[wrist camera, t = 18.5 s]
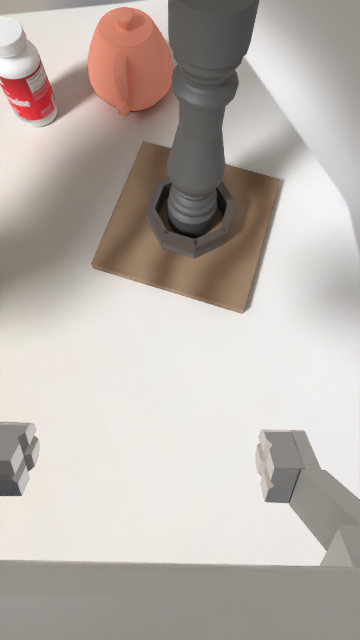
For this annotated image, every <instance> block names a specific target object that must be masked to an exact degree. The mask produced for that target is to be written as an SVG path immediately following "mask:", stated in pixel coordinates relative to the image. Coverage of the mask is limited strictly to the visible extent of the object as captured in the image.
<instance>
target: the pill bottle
mask: <svg viewBox="0 0 360 640" xmlns="http://www.w3.org/2000/svg"><path fill="white" fill-rule="evenodd" d="M0 85H1V87H2V89H3V91H4V93H5V95H6V97H7V99H8V101H9V103H10V104H11V106H12V108H13V110H14V112H15V114H16V116H17V117H18V119H19V120H20V121H21V122H22V123H24V124H25V125H28V126H31V127H41V126H45V125H47V124H49V123H50V122H52V121H53V120H54V119H55V117H56V115H57V112H58V106H57V102H56V100H55V97H54V94H53V91H52V89H51V86H50V83H49V81H48V78H47V75H46V72H45V70H44V67H43V64H42V61H41V59H40V56H39V53H38V51H37V49H36V47H35V46H34V45H33V44H32V43H31V42H30V41H28V40H27V38H26V35H25V33H24V30H23V28H22V26H21V24H20V23H19V22H18V21H17V20H16V19H14V18H11V17H0Z"/></svg>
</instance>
